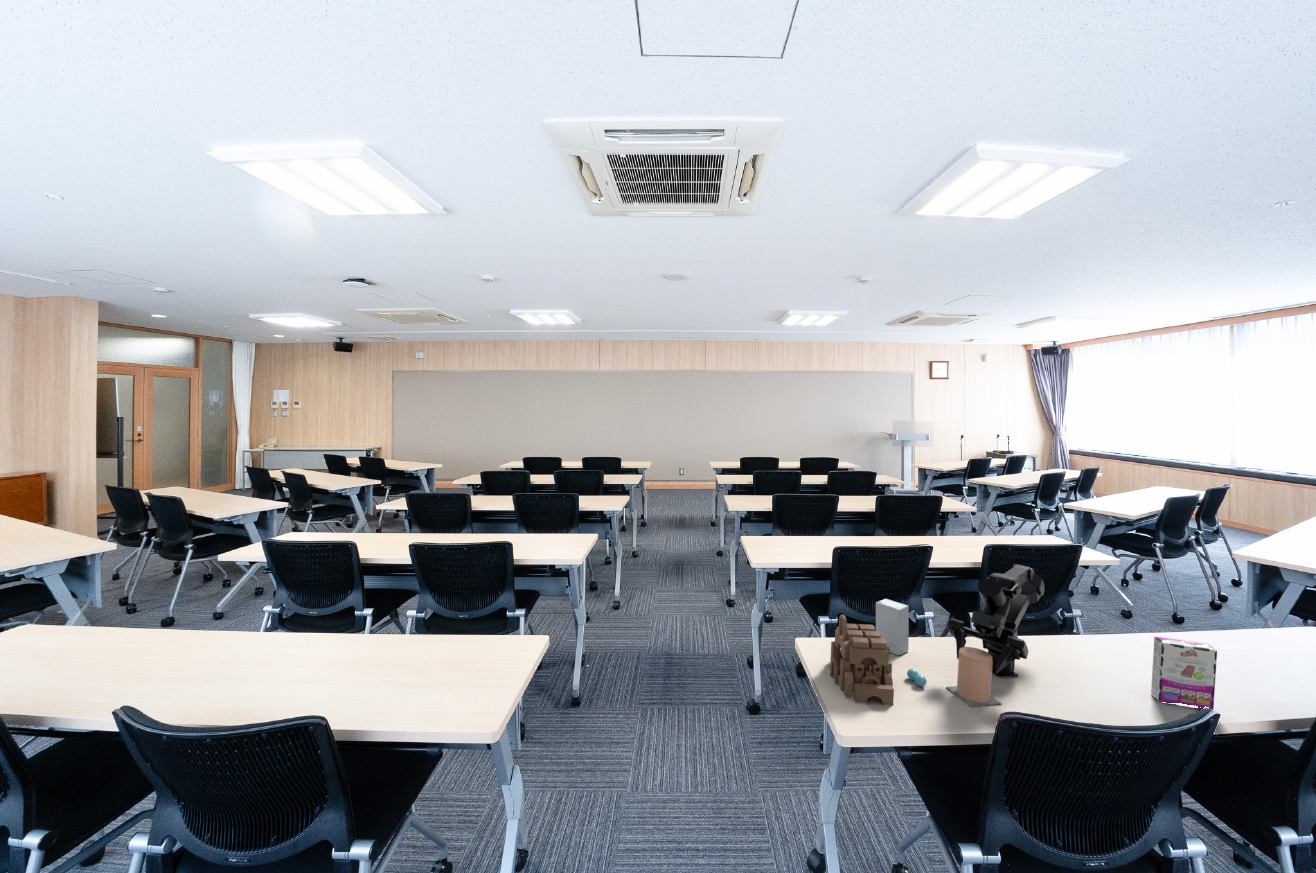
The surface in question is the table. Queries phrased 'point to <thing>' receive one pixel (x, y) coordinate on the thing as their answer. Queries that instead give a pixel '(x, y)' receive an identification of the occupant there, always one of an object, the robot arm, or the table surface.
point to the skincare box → (893, 625)
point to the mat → (972, 703)
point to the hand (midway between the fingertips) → (976, 665)
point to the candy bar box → (1184, 672)
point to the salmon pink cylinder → (974, 674)
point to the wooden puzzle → (861, 663)
